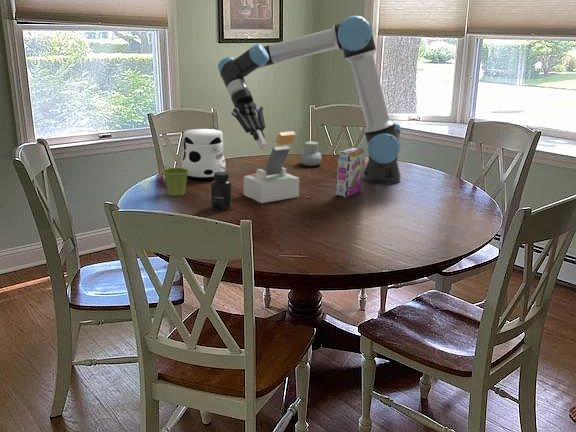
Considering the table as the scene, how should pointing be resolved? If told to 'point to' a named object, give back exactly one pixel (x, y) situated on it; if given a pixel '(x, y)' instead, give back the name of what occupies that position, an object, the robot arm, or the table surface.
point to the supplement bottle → (221, 191)
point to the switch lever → (279, 153)
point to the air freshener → (311, 154)
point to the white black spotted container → (203, 153)
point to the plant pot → (176, 180)
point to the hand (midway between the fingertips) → (263, 146)
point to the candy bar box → (349, 172)
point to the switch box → (271, 186)
